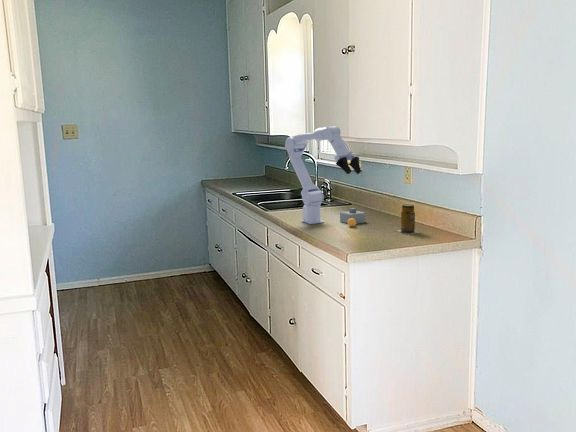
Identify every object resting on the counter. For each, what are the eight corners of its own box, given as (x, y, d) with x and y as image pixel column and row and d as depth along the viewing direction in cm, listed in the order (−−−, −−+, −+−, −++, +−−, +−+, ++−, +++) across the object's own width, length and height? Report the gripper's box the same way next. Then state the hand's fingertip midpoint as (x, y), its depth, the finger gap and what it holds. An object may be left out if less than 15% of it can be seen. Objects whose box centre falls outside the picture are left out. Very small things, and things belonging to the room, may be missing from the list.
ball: (345, 226, 269) (345, 218, 268) (352, 225, 271) (352, 217, 270) (350, 227, 266) (350, 219, 265) (357, 226, 268) (357, 218, 267)
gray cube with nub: (340, 221, 281) (339, 208, 280) (355, 219, 285) (354, 206, 284) (350, 224, 273) (350, 210, 272) (365, 222, 278) (365, 208, 276)
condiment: (411, 229, 258) (411, 203, 256) (420, 233, 250) (420, 206, 248) (396, 230, 256) (396, 204, 254) (405, 234, 248) (405, 207, 246)
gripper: (336, 142, 253) (350, 167, 249) (355, 143, 264) (369, 167, 259) (326, 152, 257) (340, 177, 253) (345, 152, 268) (359, 176, 264)
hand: (354, 172), depth 256 cm, fingers open, 7 cm apart
